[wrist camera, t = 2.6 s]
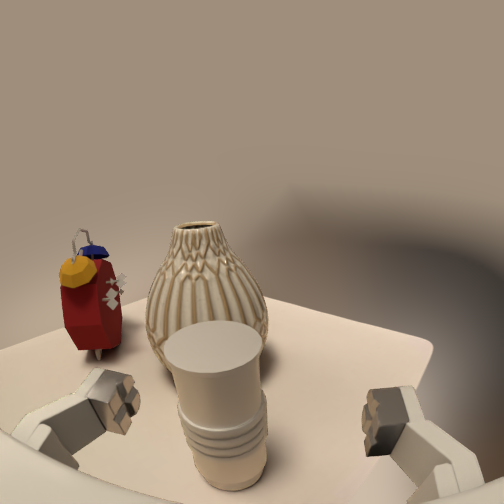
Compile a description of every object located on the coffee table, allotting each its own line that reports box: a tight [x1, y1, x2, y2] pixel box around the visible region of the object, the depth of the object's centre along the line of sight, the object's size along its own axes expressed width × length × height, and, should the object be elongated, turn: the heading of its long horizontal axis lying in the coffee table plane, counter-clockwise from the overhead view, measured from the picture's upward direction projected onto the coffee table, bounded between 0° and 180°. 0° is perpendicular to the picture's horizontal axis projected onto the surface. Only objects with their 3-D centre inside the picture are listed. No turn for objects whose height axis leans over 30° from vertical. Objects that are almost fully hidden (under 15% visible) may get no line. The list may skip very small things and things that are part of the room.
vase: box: [146, 221, 268, 372], centre depth 39 cm, size 16×16×20 cm
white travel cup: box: [164, 320, 268, 491], centre depth 22 cm, size 7×7×15 cm
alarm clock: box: [59, 228, 126, 360], centre depth 44 cm, size 15×9×20 cm, turn 13°
